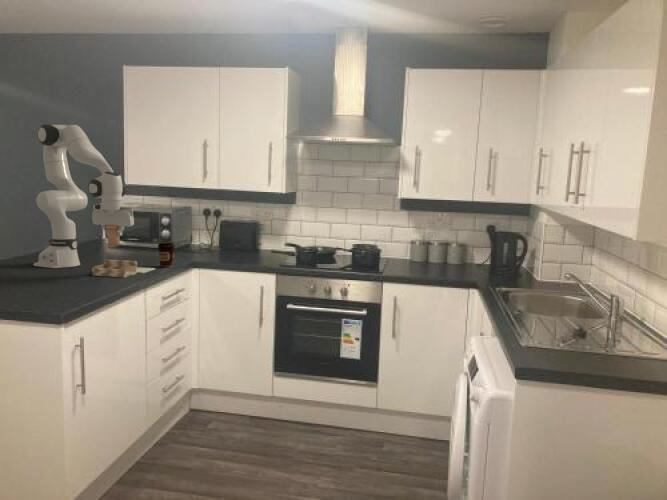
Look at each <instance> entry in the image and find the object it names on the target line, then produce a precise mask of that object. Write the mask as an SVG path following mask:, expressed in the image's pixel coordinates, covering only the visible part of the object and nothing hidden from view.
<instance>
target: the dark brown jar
mask: <svg viewBox="0 0 667 500" xmlns="http://www.w3.org/2000/svg"><path fill="white" fill-rule="evenodd" d="M175 247H176V245H175V244H174V242H173V241H161V242H160V241H159V243H158V245H157V248H158V260H159V267H160V268H173V266H174V265H173V260H174V258H175V257H174V256H175V252H174V251H175Z"/></svg>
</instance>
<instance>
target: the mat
mask: <svg viewBox="0 0 667 500" xmlns="http://www.w3.org/2000/svg"><path fill="white" fill-rule="evenodd" d="M154 270H156V267H141V266H140V267H139V266H137V274H145V273H148V272H151V271H154Z"/></svg>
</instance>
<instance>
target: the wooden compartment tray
mask: <svg viewBox="0 0 667 500" xmlns="http://www.w3.org/2000/svg"><path fill="white" fill-rule="evenodd" d="M103 261H104V262H103V263H102V264H99V265H95V266H92V268H91V274H92V276H98V277H113V278H127V277H130V275H131V276H134V275H137V274H138V273H137V267H138V261H136V260H122V259H121V260H120V259H119V260H118V259H105V258H104V260H103Z"/></svg>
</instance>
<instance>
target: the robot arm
mask: <svg viewBox="0 0 667 500" xmlns="http://www.w3.org/2000/svg"><path fill="white" fill-rule="evenodd" d="M36 133H37V139H38V141H39V142H40V144H41V145H43V146H42V147H43V149H42V159H43V160H42V161H43V166H44V170H45V177H46V180H47V181H48V182H49V183H51V184H53V185H54V186H55V187H56V188H57V189H54V190H53V189H49V190H44V191H40V192H39V194H38V195H37V197H36V200H35V201H36V205H37V207H38V208H39V210H40V211H42V212H43V213H44V214H45V215H46V216H47V217H48V219H49V222H50V226H51V232H52V233H51V234H52V236H51V237H52V238H51V239H48V240H47V242H48V243H49V246H47V247H46V248H45V249H44V250H42V251H41V252H40V253H39V255H38V261H37V262H34V263H33V266H34V267H41V268H50V269H59V268H71V267H77V266H80V265H81V262H80V258H79V254H78V239H77V229H76V225H77V224H76V223H75V222H74V221H73V220H72V219H70V218H68V217H67V214H66V212H77V211H81V210H84V209H85V208H86V207H87V205H88V200H89V199H88V195H87V194H86V193H85V192H84V191H83V190H82V189H80V188H79V187H78V186H77V185H76V183H75V182H74V180H73V179H72V178H73V177H72V176H71V172H70V168H69V162H68V158H67V151H68V153H69V155H70V156H71V157H72V158H73V160H74V161H76V162H79V163H80V164H85V165H88V166H91V167H94V168H95V169H97V170H98V171H100V173H101V174H102V175H100V176H98V177H95V178H92V179H91V180H90V181H89V183H88V186H87V190H88V193H89V195H90V196H91V197H92V198H96V199H102V202H100V203H96V204H94V205H92V208H93V211H92V213H91V214H92V216H91V217H92V218H91V220H92V224H93V225H95V226H97V225H99V226H101V227H102V229H103V231H104V235H105V236H106V235H107V228H106V225H110V226H119V232H118V235H119V236H123V232H124V230H125V227H128V228H129V227H133V226H134V225H135V222H134V221H135V218H134V210H133V208H131V206H130V207H129V206H124V199H123V197H124V196H125V195H126V193H127V191H128V189H127V188H128V187H127V184H126V182H125V180H124V179H123V178H122V176H121V174H120V173H119V172H116V170H115V169H114V167H113V166H112V165H111V163H110V162H109V161H108V159H107V158H106V156H105V155H103V153H101V152H100V151H99V150H97V149H96V147H95V146H94V145H93V143H92V142H91V141H90V139H89V137H88V136H87V134H86V133H85V131H84V130H83V129H82V127H81V126H79V125H77V124H69V125H67V124H61V123H60V124H50V123H48V124H47V123H46V124H42V125H40V126H39V128H38V129H37V132H36Z"/></svg>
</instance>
